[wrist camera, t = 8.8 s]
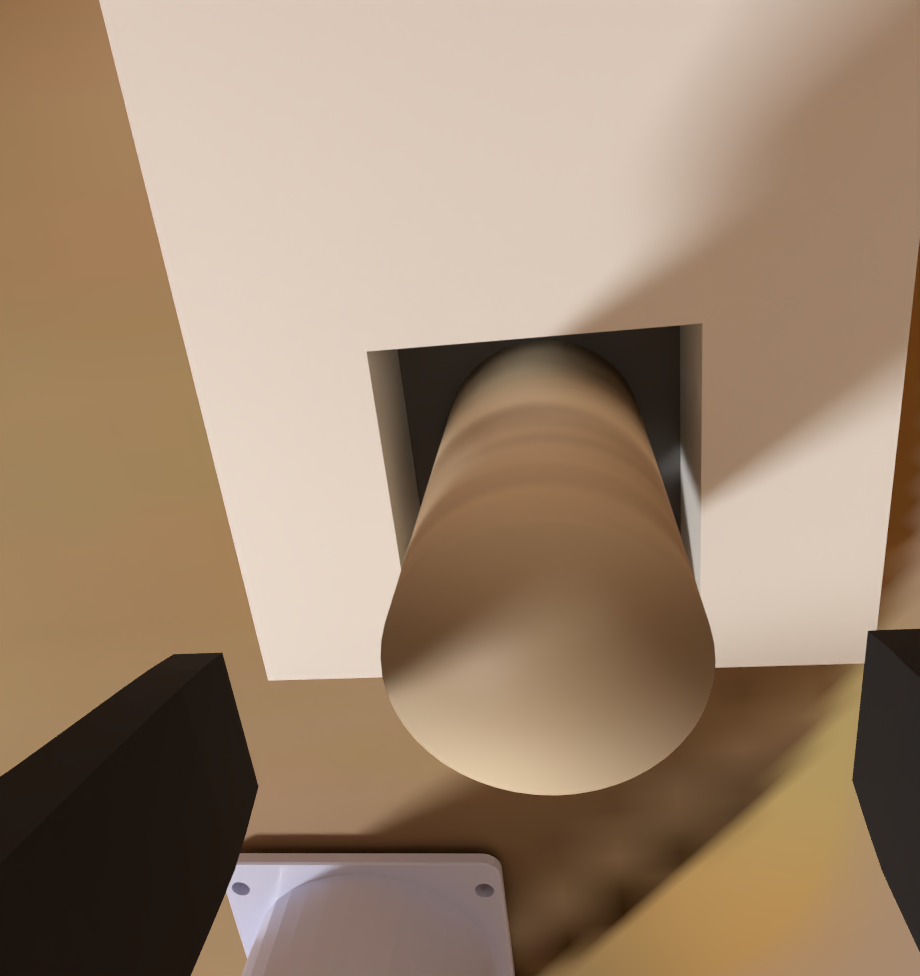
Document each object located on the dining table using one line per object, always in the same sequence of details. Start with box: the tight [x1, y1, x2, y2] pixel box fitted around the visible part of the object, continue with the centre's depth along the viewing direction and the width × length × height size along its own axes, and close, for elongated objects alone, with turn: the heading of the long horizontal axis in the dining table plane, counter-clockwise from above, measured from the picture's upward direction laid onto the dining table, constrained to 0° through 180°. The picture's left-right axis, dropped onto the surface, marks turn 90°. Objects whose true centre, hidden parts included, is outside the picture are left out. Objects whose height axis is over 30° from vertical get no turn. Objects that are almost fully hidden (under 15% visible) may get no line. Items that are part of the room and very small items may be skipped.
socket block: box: [99, 0, 920, 680], centre depth 12 cm, size 18×13×8 cm
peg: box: [380, 340, 716, 795], centre depth 14 cm, size 4×4×8 cm
